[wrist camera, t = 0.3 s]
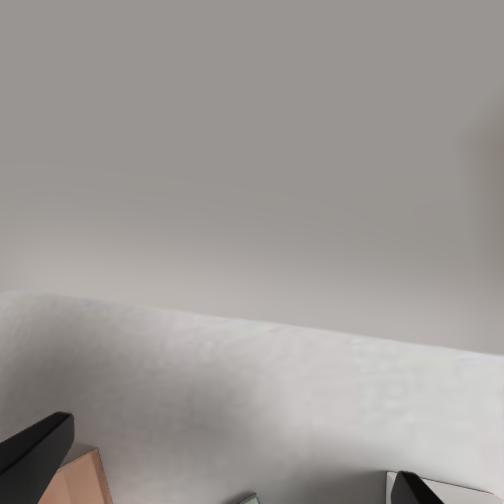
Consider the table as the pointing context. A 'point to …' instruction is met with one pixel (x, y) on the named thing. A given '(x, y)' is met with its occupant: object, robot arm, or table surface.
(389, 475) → the milk carton
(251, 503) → the lid
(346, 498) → the table surface
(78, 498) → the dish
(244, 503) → the mat
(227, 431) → the table surface
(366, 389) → the table surface
